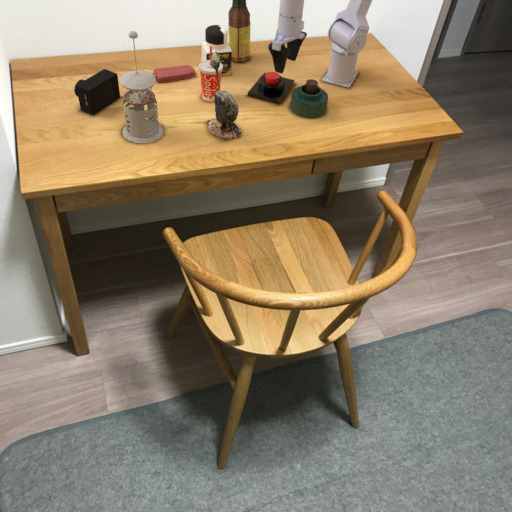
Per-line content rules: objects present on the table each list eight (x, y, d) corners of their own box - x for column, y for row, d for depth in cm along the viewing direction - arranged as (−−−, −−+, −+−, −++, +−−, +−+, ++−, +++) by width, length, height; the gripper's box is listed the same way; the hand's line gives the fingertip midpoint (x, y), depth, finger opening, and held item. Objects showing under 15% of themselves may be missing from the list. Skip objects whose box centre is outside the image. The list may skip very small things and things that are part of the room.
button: (267, 76, 154) (268, 70, 153) (281, 79, 153) (282, 73, 152) (262, 82, 151) (262, 76, 150) (276, 86, 150) (276, 80, 149)
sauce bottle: (250, 54, 167) (254, -15, 153) (248, 64, 163) (252, -6, 149) (228, 52, 168) (230, -18, 153) (226, 62, 163) (227, -9, 149)
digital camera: (104, 91, 149) (100, 66, 144) (120, 97, 147) (117, 73, 142) (76, 108, 142) (71, 83, 137) (93, 115, 141) (88, 90, 136)
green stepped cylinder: (297, 95, 153) (299, 77, 149) (330, 104, 151) (333, 85, 147) (285, 112, 147) (287, 93, 143) (319, 122, 145) (322, 103, 141)
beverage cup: (194, 98, 149) (193, 48, 139) (206, 88, 153) (206, 38, 142) (214, 105, 147) (215, 55, 137) (226, 95, 151) (227, 45, 141)
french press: (117, 140, 134) (102, 39, 116) (131, 114, 142) (119, 15, 124) (157, 145, 134) (149, 44, 116) (169, 119, 142) (163, 20, 124)
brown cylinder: (305, 102, 150) (308, 78, 145) (315, 105, 149) (319, 80, 144) (301, 107, 148) (304, 83, 143) (312, 110, 147) (315, 86, 142)
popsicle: (138, 70, 154) (191, 63, 158) (138, 75, 155) (191, 68, 160) (142, 80, 151) (196, 72, 155) (143, 85, 152) (196, 77, 156)
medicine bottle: (206, 76, 157) (206, 34, 148) (201, 64, 162) (200, 23, 153) (231, 74, 159) (232, 33, 150) (225, 62, 163) (226, 21, 155)
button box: (264, 76, 159) (264, 66, 157) (294, 84, 157) (295, 74, 155) (247, 96, 151) (248, 86, 149) (278, 104, 149) (279, 94, 147)
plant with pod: (211, 147, 135) (212, 69, 120) (205, 120, 142) (204, 44, 128) (245, 144, 136) (249, 67, 122) (236, 118, 144) (239, 43, 129)
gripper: (293, 28, 131) (287, 82, 141) (317, 7, 140) (310, 58, 150) (266, 21, 133) (262, 74, 142) (291, 0, 142) (286, 51, 152)
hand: (285, 65), depth 146 cm, fingers open, 7 cm apart
